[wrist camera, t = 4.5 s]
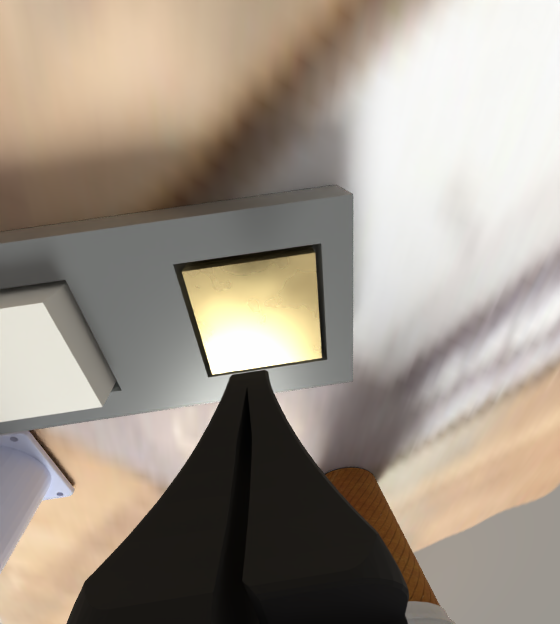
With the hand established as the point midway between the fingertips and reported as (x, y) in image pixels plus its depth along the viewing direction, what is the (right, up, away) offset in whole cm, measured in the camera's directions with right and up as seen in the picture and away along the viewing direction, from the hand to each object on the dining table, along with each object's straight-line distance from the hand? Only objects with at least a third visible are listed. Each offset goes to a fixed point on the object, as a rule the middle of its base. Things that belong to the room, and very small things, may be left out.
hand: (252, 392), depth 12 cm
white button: (-12, +2, +6) cm, 13 cm away
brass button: (0, +4, +7) cm, 8 cm away
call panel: (-6, +3, +7) cm, 10 cm away
